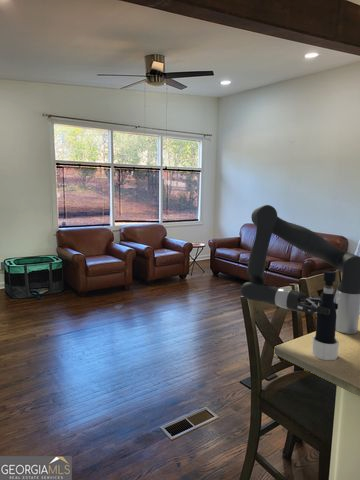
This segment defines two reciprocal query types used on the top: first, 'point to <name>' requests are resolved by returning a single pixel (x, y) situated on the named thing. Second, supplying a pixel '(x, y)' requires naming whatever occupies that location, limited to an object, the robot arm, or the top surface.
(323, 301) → the black insulated water bottle
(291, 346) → the top surface
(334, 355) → the ceramic cup
